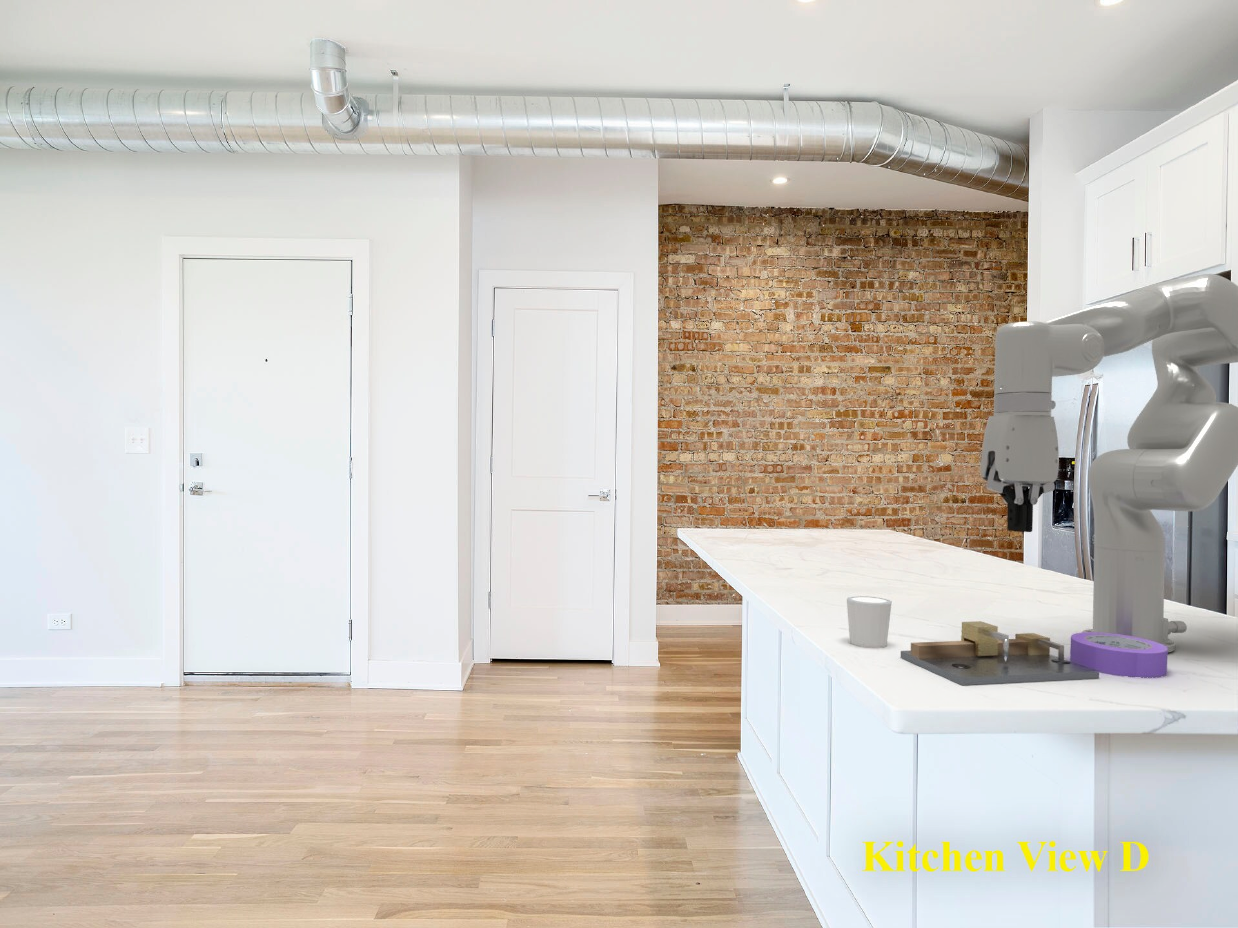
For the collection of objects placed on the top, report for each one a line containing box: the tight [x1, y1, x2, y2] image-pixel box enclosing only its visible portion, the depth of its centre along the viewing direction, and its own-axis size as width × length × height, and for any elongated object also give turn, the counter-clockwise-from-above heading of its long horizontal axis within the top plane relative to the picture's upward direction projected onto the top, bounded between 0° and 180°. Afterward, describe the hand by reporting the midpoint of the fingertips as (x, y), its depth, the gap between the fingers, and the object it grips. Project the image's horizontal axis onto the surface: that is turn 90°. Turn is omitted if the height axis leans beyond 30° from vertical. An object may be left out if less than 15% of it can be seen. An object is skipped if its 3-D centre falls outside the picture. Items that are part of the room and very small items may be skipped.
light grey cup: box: [846, 595, 892, 649], centre depth 121 cm, size 7×7×7 cm
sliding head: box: [960, 620, 1010, 661], centre depth 109 cm, size 3×8×4 cm, turn 12°
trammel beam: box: [910, 632, 1065, 661], centre depth 109 cm, size 21×7×2 cm, turn 102°
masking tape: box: [1069, 632, 1169, 679], centre depth 109 cm, size 12×12×4 cm
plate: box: [900, 649, 1100, 686], centre depth 108 cm, size 21×14×1 cm, turn 102°
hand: (1019, 530), depth 112 cm, fingers closed
